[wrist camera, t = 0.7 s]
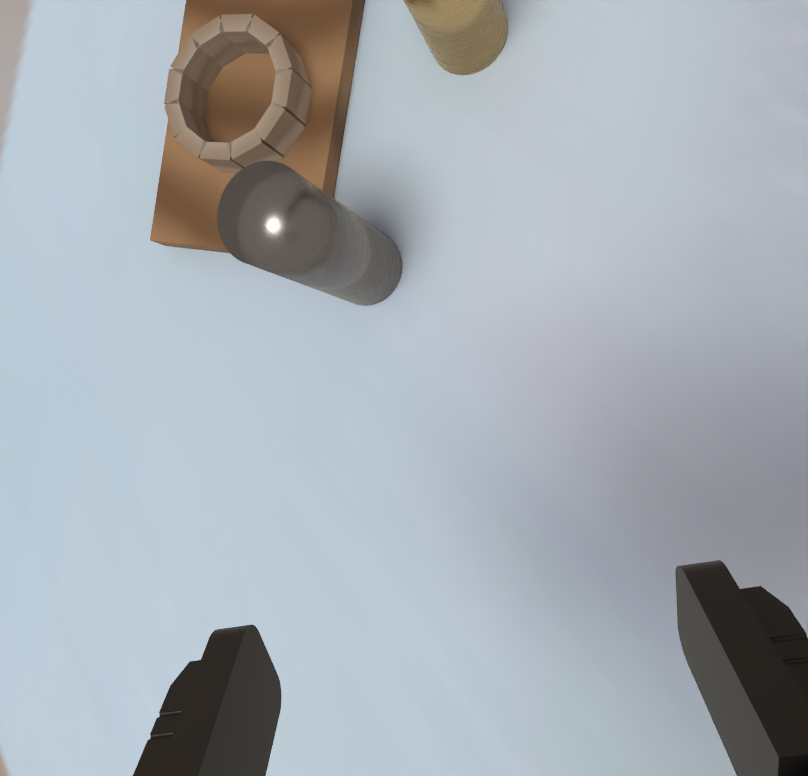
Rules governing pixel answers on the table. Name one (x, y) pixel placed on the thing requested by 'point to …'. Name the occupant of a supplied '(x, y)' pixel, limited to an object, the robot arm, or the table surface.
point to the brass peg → (461, 32)
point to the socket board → (251, 103)
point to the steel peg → (305, 235)
